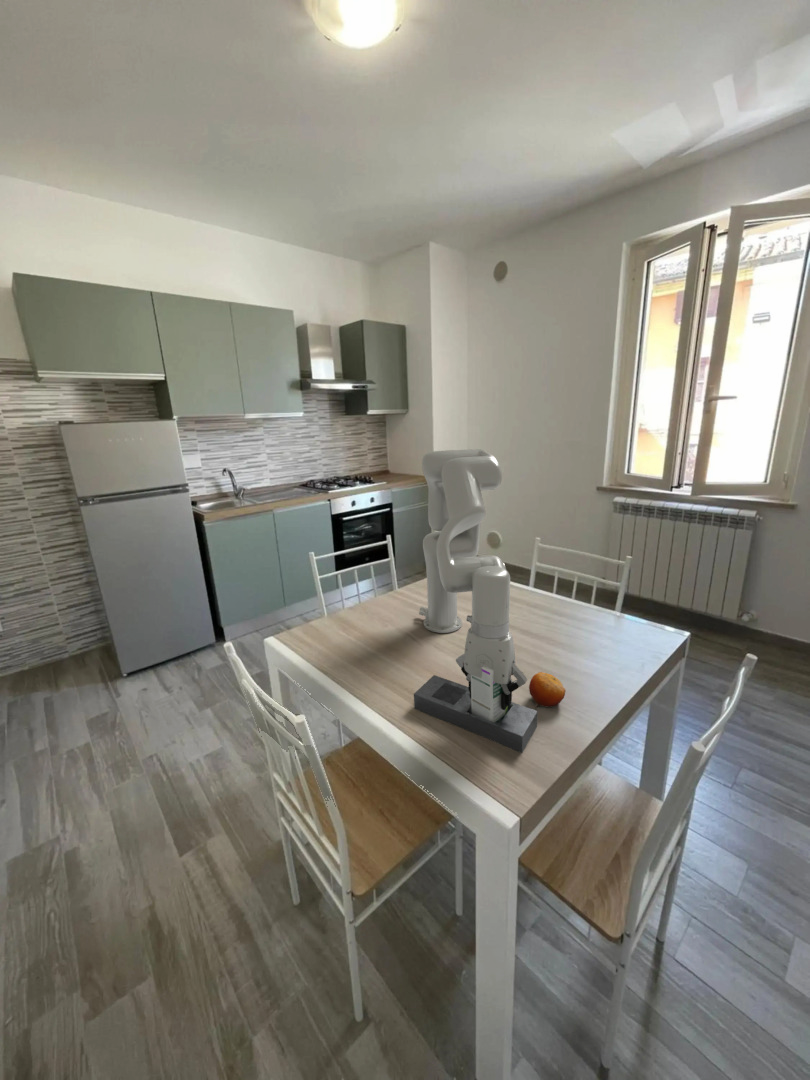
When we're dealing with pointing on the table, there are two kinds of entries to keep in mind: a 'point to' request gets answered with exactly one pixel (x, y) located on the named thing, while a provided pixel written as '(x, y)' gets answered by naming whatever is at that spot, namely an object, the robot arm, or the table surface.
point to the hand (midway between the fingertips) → (489, 699)
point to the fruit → (546, 690)
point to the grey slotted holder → (455, 709)
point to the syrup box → (487, 697)
